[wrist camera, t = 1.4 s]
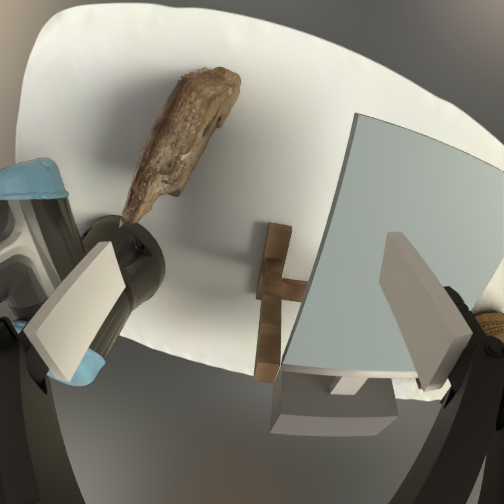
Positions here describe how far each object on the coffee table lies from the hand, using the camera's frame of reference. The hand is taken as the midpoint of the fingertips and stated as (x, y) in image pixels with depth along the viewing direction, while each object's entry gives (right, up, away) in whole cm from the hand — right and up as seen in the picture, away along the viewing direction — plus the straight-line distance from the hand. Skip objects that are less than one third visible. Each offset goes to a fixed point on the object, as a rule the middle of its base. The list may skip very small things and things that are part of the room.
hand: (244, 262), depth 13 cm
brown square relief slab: (-6, +15, +21) cm, 27 cm away
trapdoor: (+12, -5, +13) cm, 18 cm away
